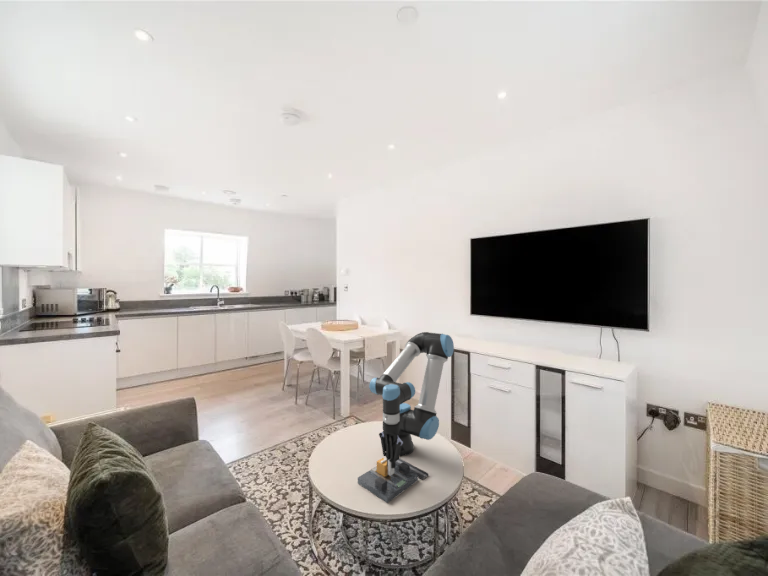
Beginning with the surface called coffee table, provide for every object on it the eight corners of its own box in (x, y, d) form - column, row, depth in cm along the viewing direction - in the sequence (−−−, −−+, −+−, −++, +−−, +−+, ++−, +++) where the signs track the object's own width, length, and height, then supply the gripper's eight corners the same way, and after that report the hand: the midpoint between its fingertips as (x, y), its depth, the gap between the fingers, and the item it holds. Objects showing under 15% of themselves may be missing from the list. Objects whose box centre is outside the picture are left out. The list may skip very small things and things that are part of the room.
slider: (382, 468, 146) (382, 456, 146) (390, 473, 143) (390, 460, 143) (376, 472, 143) (376, 460, 143) (384, 477, 140) (384, 464, 140)
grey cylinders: (394, 457, 161) (394, 455, 161) (429, 476, 146) (429, 473, 146) (388, 461, 157) (388, 458, 157) (423, 480, 142) (423, 477, 142)
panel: (388, 464, 155) (388, 453, 155) (417, 480, 142) (417, 468, 142) (357, 483, 140) (357, 470, 140) (387, 503, 128) (387, 489, 128)
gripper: (374, 419, 141) (374, 471, 142) (396, 428, 132) (396, 484, 133) (386, 414, 147) (386, 464, 148) (408, 422, 138) (407, 476, 139)
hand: (391, 473), depth 140 cm, fingers closed
